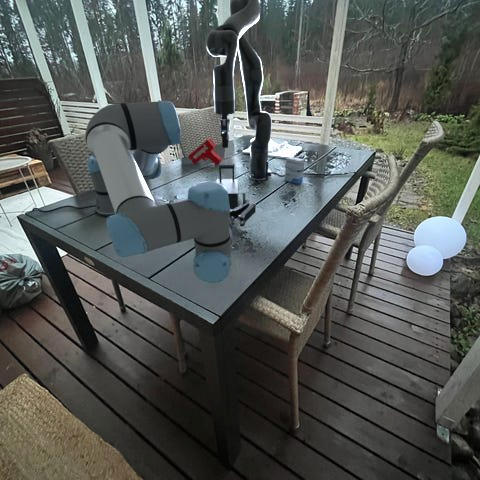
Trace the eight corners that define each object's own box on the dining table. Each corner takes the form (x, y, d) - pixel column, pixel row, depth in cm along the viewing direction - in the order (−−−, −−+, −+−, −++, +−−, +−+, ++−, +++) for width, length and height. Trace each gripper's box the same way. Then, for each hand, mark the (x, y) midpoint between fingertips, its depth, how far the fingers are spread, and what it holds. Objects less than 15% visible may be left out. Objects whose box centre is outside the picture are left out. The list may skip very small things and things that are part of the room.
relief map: (291, 159, 177) (291, 151, 174) (243, 153, 190) (243, 145, 187) (302, 149, 197) (303, 142, 194) (258, 144, 211) (258, 137, 208)
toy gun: (225, 158, 166) (210, 137, 162) (223, 160, 163) (207, 139, 159) (205, 174, 176) (191, 154, 172) (202, 176, 173) (188, 156, 169)
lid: (216, 181, 119) (215, 162, 115) (238, 181, 119) (237, 162, 115) (213, 195, 106) (212, 175, 101) (237, 195, 106) (237, 175, 101)
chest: (217, 201, 123) (216, 181, 118) (238, 200, 123) (238, 181, 118) (215, 216, 111) (213, 195, 106) (237, 216, 110) (237, 195, 106)
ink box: (302, 181, 142) (305, 159, 136) (297, 184, 139) (300, 161, 133) (289, 177, 147) (291, 156, 141) (284, 180, 144) (285, 158, 138)
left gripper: (168, 245, 69) (183, 208, 87) (267, 244, 69) (261, 208, 86) (164, 219, 65) (180, 186, 83) (268, 218, 65) (262, 185, 82)
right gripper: (215, 97, 105) (217, 140, 114) (212, 101, 93) (215, 149, 102) (234, 97, 105) (235, 140, 114) (234, 101, 93) (234, 149, 102)
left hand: (222, 197), depth 85 cm, fingers open, 13 cm apart
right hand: (225, 144), depth 108 cm, fingers open, 8 cm apart
